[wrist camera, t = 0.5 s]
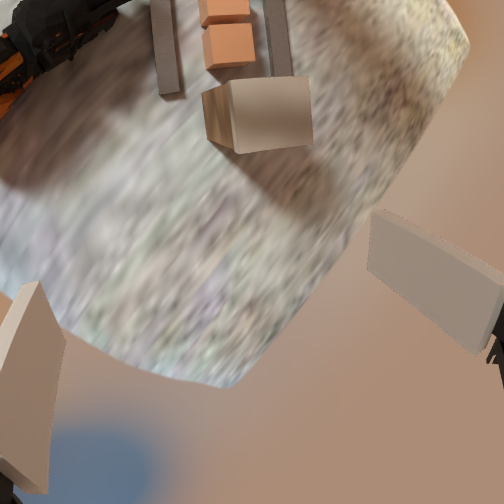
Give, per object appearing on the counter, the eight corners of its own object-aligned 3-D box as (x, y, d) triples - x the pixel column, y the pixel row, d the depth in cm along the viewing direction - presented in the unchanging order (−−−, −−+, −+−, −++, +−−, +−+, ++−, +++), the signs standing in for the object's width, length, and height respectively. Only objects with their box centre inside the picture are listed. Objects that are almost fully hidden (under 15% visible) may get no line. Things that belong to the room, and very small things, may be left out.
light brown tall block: (200, 92, 29) (230, 80, 19) (253, 86, 30) (308, 76, 20) (206, 140, 31) (239, 154, 21) (258, 132, 33) (313, 144, 22)
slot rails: (148, -8, 22) (149, -11, 22) (277, -13, 26) (280, -16, 25) (159, 95, 28) (159, 94, 27) (288, 81, 31) (292, 80, 30)
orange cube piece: (197, -5, 24) (204, -19, 21) (234, -7, 25) (245, -20, 22) (200, 26, 26) (208, 15, 23) (238, 24, 27) (250, 14, 24)
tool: (118, 53, 30) (166, -13, 18) (-30, 184, 23) (-76, 175, 11) (85, 11, 26) (119, -66, 14) (-64, 135, 18) (-117, 100, 7)
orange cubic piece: (201, 35, 26) (209, 25, 23) (239, 32, 27) (251, 23, 24) (205, 69, 28) (213, 63, 25) (243, 66, 29) (255, 60, 26)
